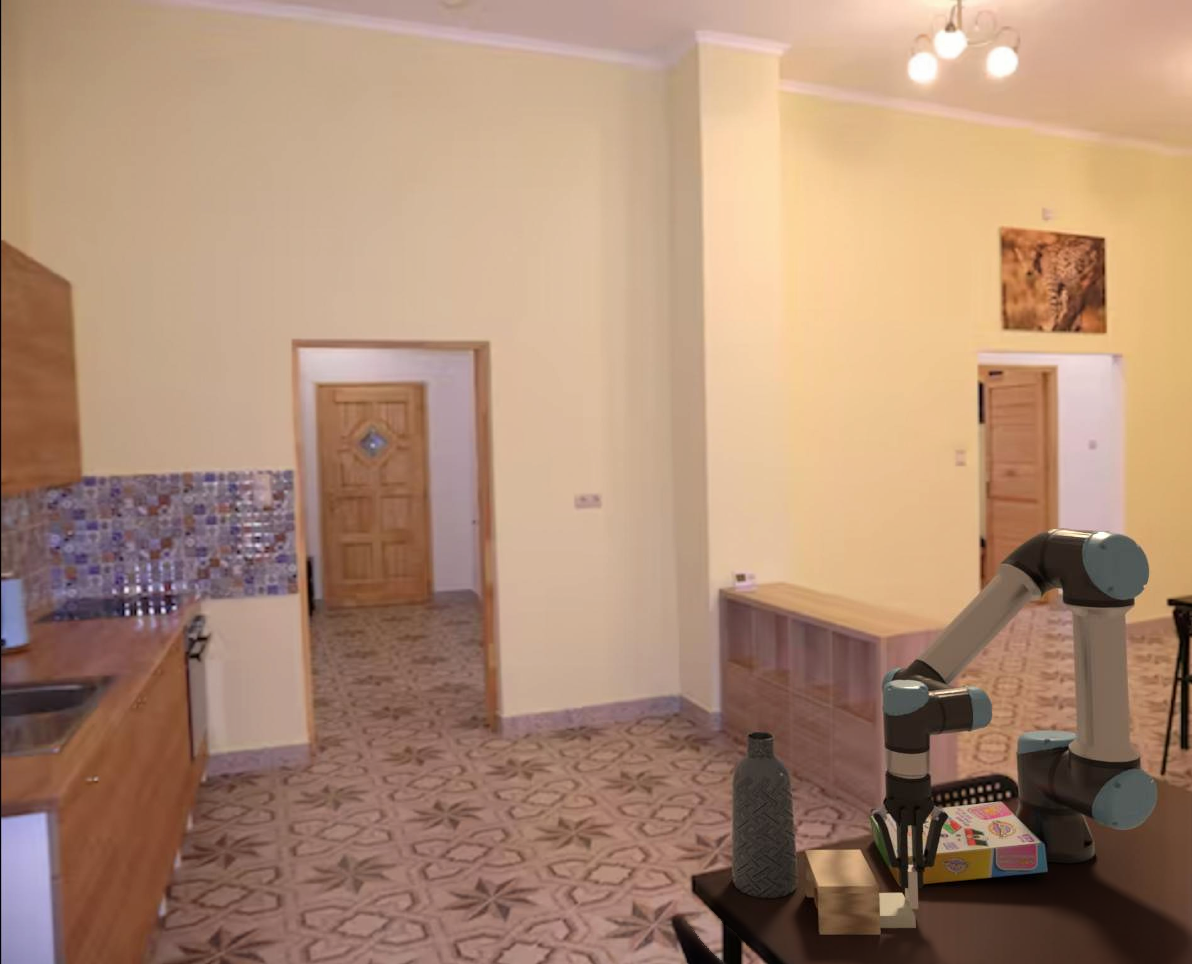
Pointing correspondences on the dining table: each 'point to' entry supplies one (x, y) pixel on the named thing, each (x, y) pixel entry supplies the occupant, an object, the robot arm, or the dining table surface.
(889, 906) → the thin cream tile
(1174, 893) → the dining table surface
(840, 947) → the dining table surface
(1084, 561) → the robot arm
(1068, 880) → the dining table surface
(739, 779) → the vase
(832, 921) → the overhang
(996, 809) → the game box
